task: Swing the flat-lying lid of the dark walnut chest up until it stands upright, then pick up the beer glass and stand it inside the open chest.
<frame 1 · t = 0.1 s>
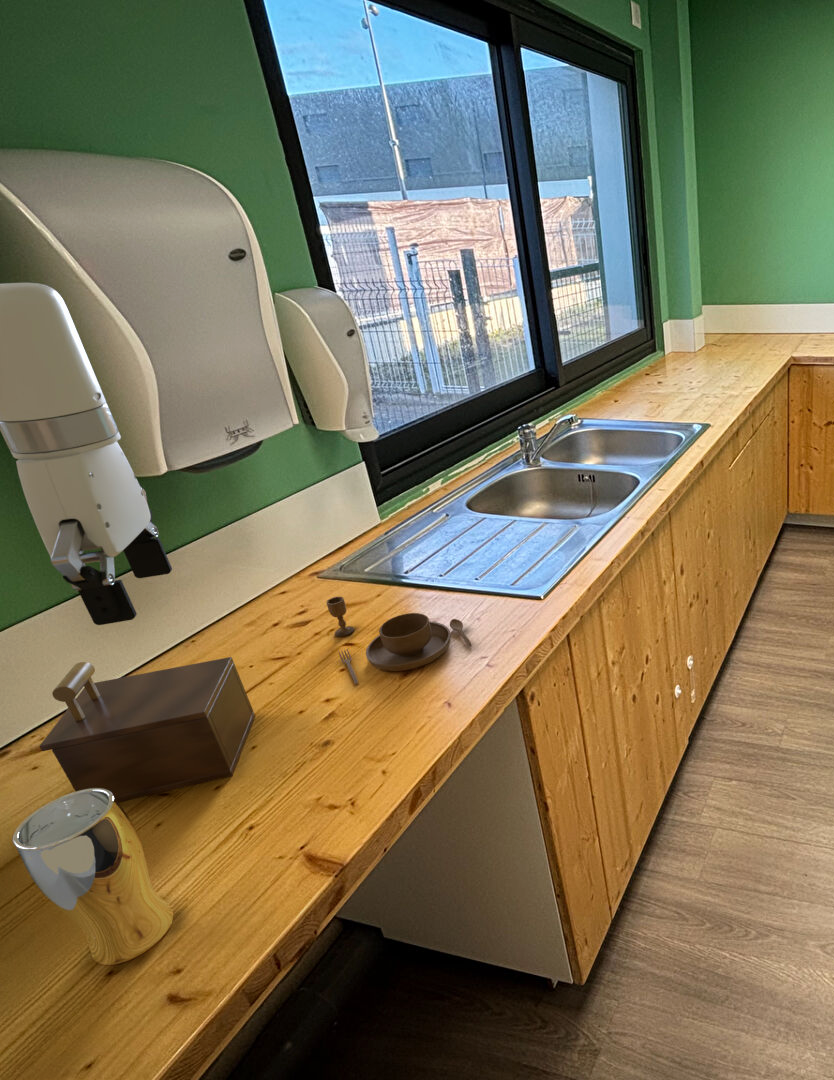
hand: (136, 596, 70), 26 cm above the countertop, tool pointing down, fingers open, 9 cm apart
beer glass: (135, 935, 65), on the countertop
chest: (177, 759, 86), on the countertop
place setting: (403, 641, 109), on the countertop
lid: (137, 683, 81), point 12 cm above the countertop, hinge at 0.0°
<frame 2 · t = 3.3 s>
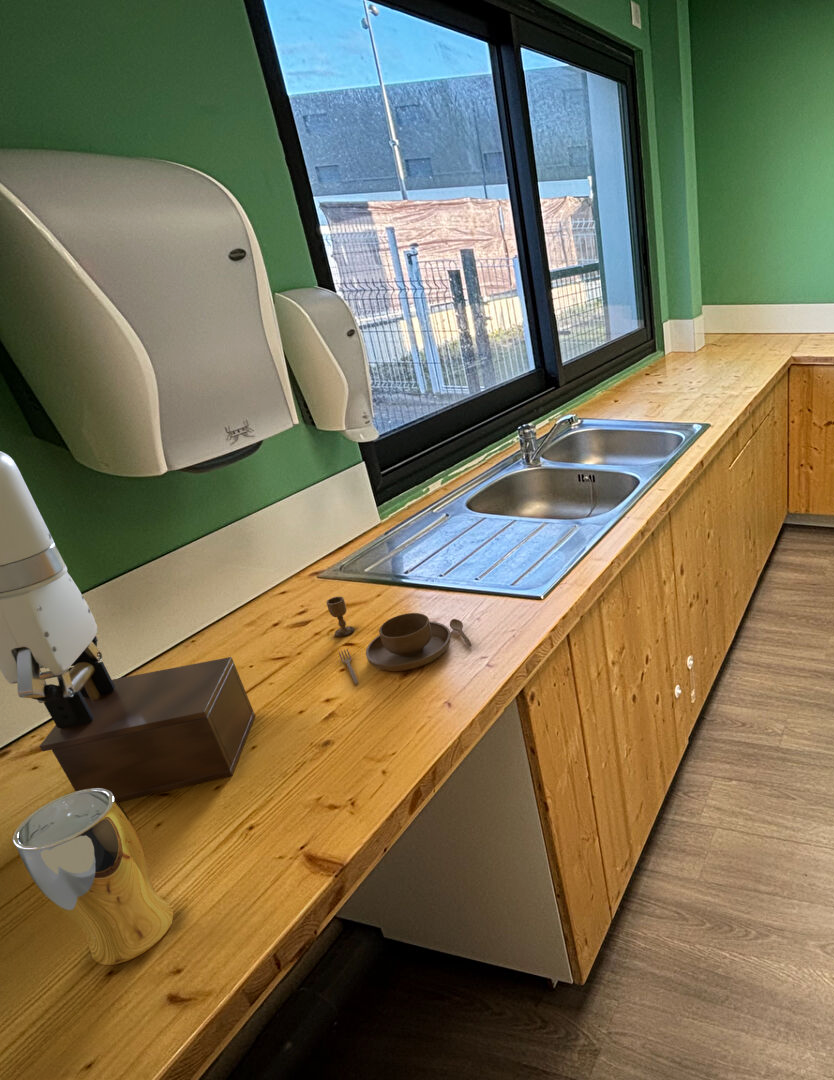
hand: (87, 707, 80), 10 cm above the countertop, tool pointing down, fingers closed on lid, 5 cm apart
lid: (137, 683, 81), point 12 cm above the countertop, hinge at -0.1°, touching gripper
everything else where it was.
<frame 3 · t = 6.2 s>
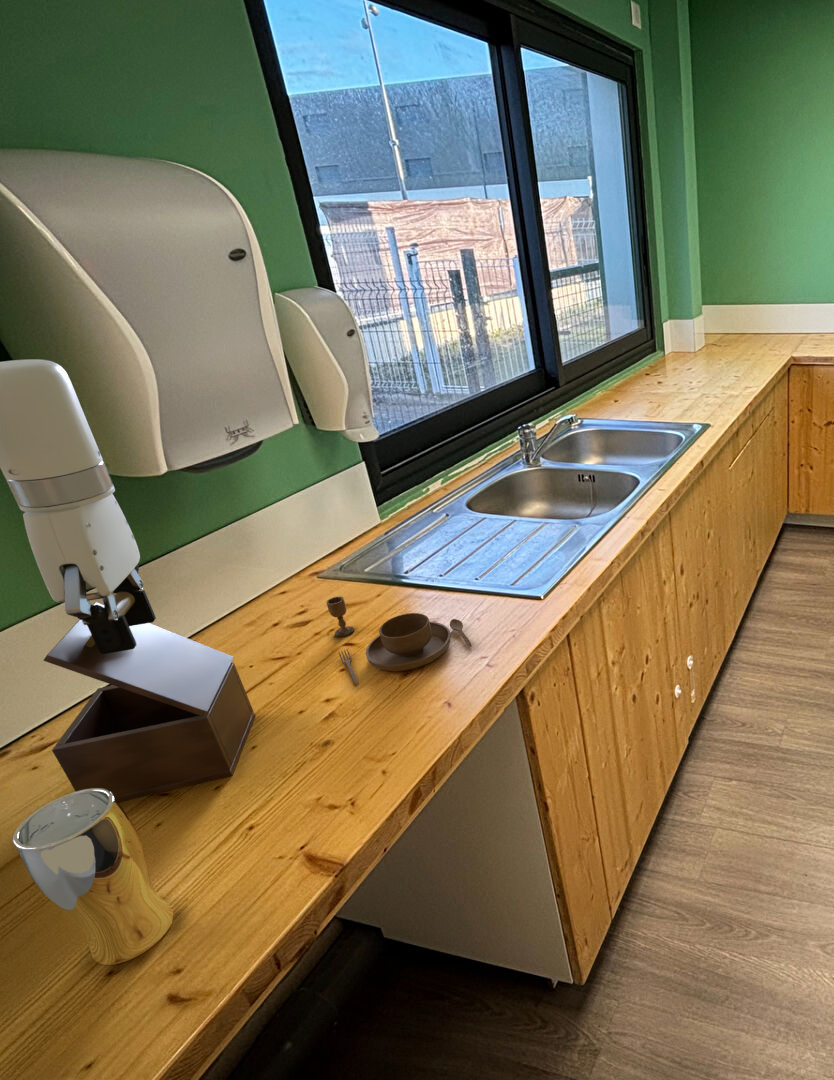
hand: (129, 635, 79), 18 cm above the countertop, tool pointing down, fingers closed on lid, 5 cm apart
lid: (160, 643, 80), point 16 cm above the countertop, hinge at 44.0°, touching gripper
everything else where it was.
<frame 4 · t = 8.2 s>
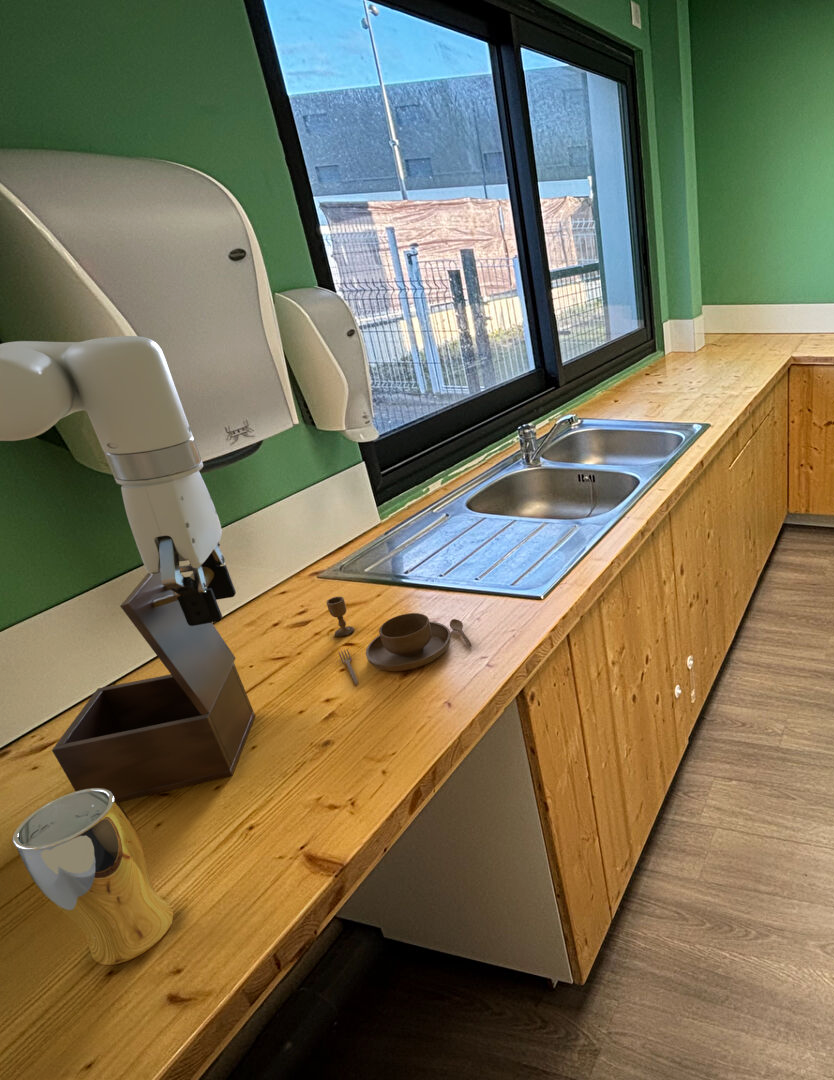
hand: (213, 608, 81), 20 cm above the countertop, tool pointing down, fingers closed on lid, 5 cm apart
lid: (206, 627, 81), point 17 cm above the countertop, hinge at 79.7°, touching gripper
everything else where it was.
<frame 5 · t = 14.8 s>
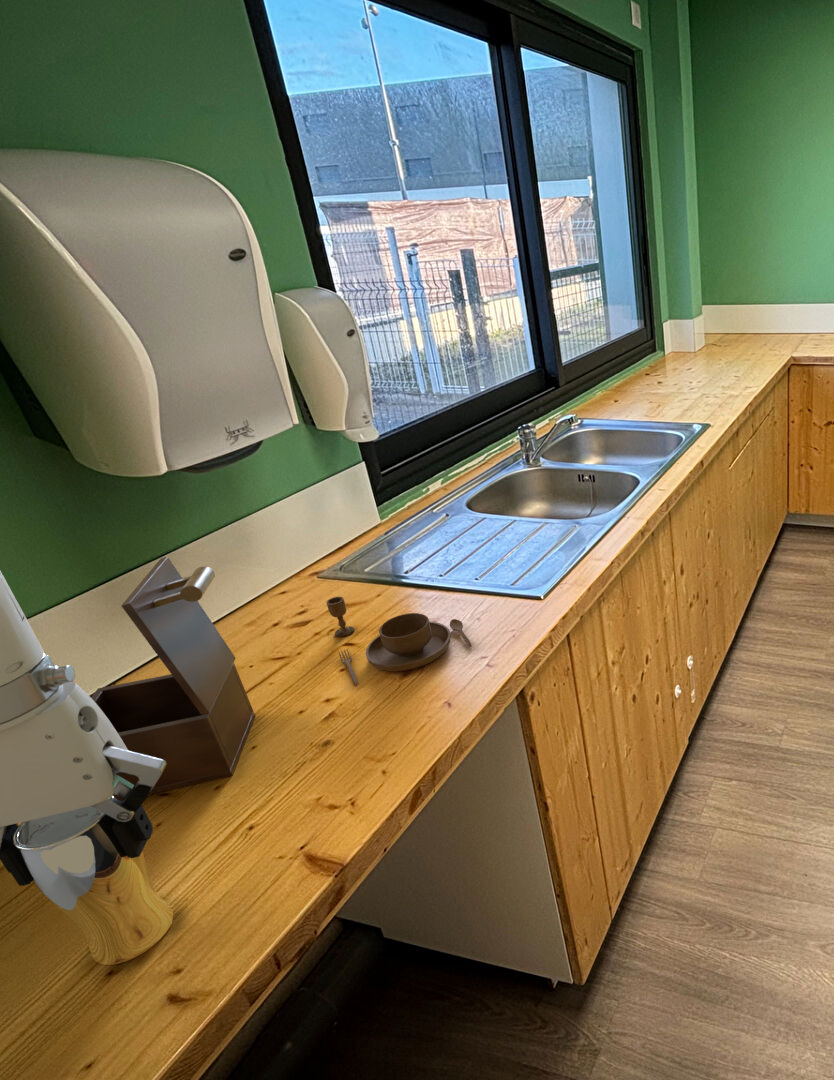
hand: (88, 857, 61), 10 cm above the countertop, tool pointing down, fingers closed on beer glass, 7 cm apart
beer glass: (135, 935, 65), on the countertop, touching gripper
lid: (206, 627, 81), point 17 cm above the countertop, hinge at 80.1°
everything else where it was.
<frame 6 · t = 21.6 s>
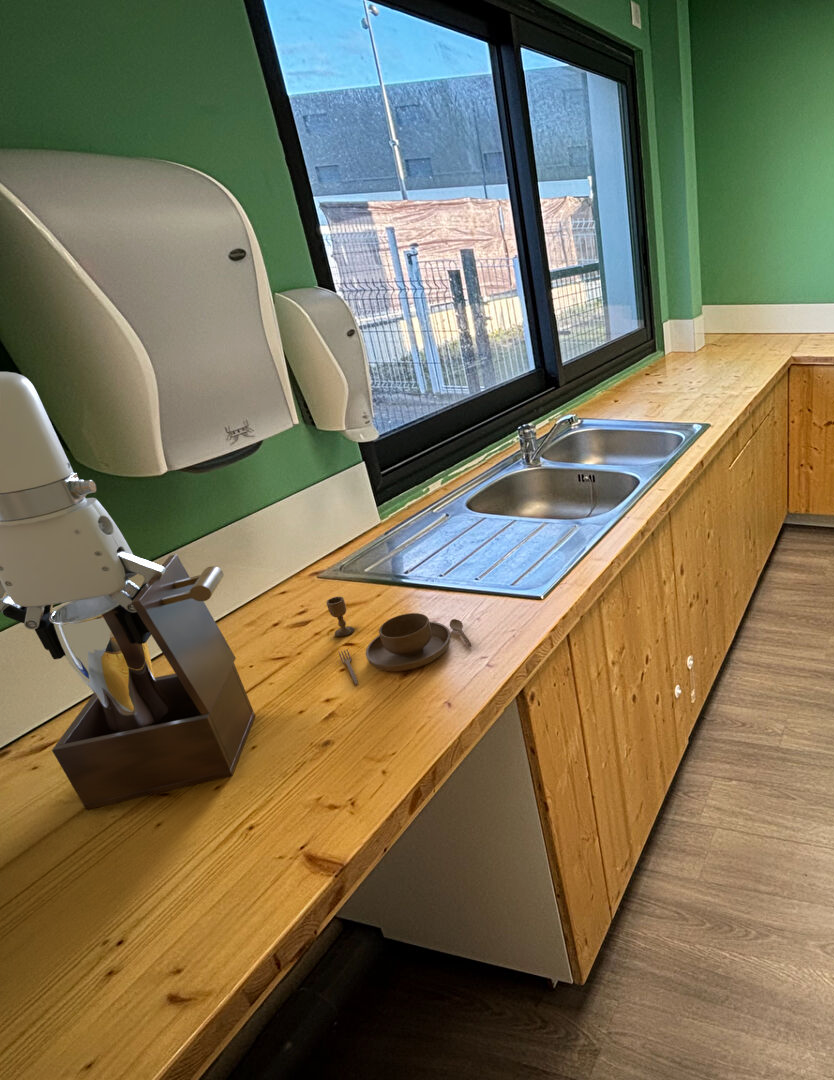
hand: (105, 643, 78), 17 cm above the countertop, tool pointing down, fingers closed on beer glass, 7 cm apart
beer glass: (141, 716, 83), point 7 cm above the countertop, touching gripper
lid: (211, 627, 81), point 17 cm above the countertop, hinge at 83.6°
everything else where it was.
when the fingers open (11 cm above the countertop, at t = 23.7 s): beer glass stays where it is, resting on chest.
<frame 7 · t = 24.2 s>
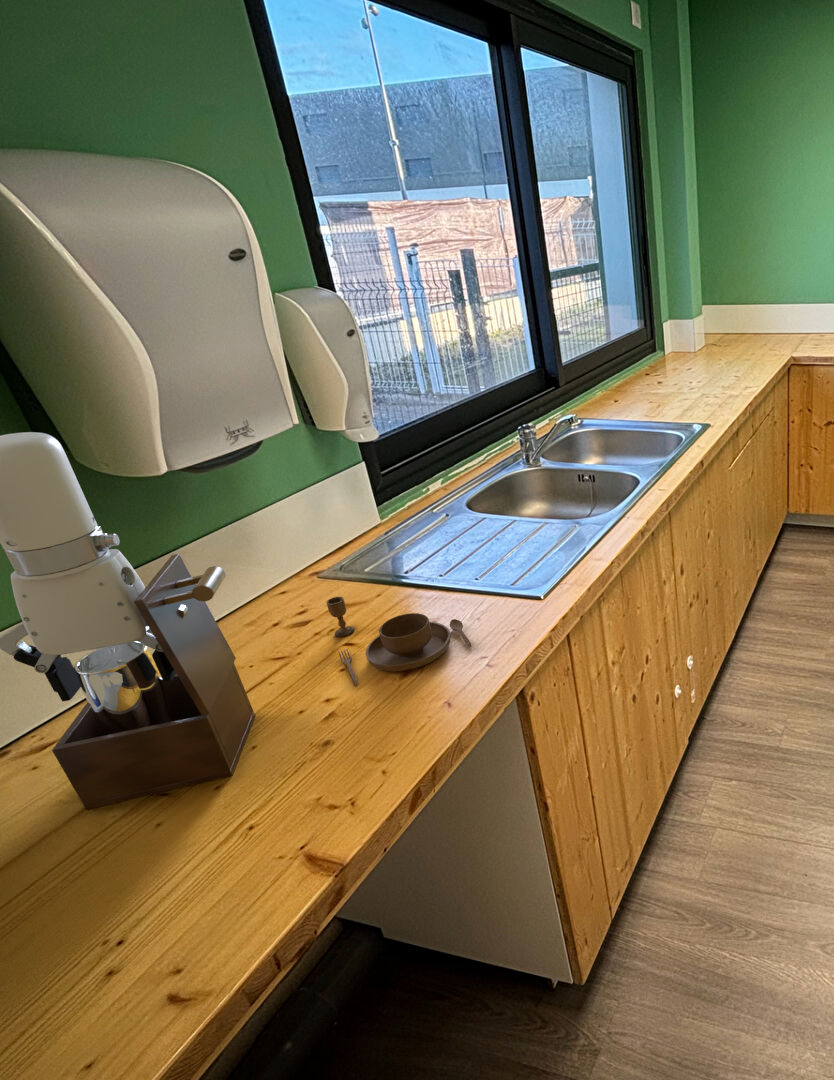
hand: (123, 684, 81), 12 cm above the countertop, tool pointing down, fingers open, 9 cm apart
beer glass: (161, 758, 86), point 1 cm above the countertop, touching chest
lid: (213, 627, 81), point 17 cm above the countertop, hinge at 84.5°
everything else where it was.
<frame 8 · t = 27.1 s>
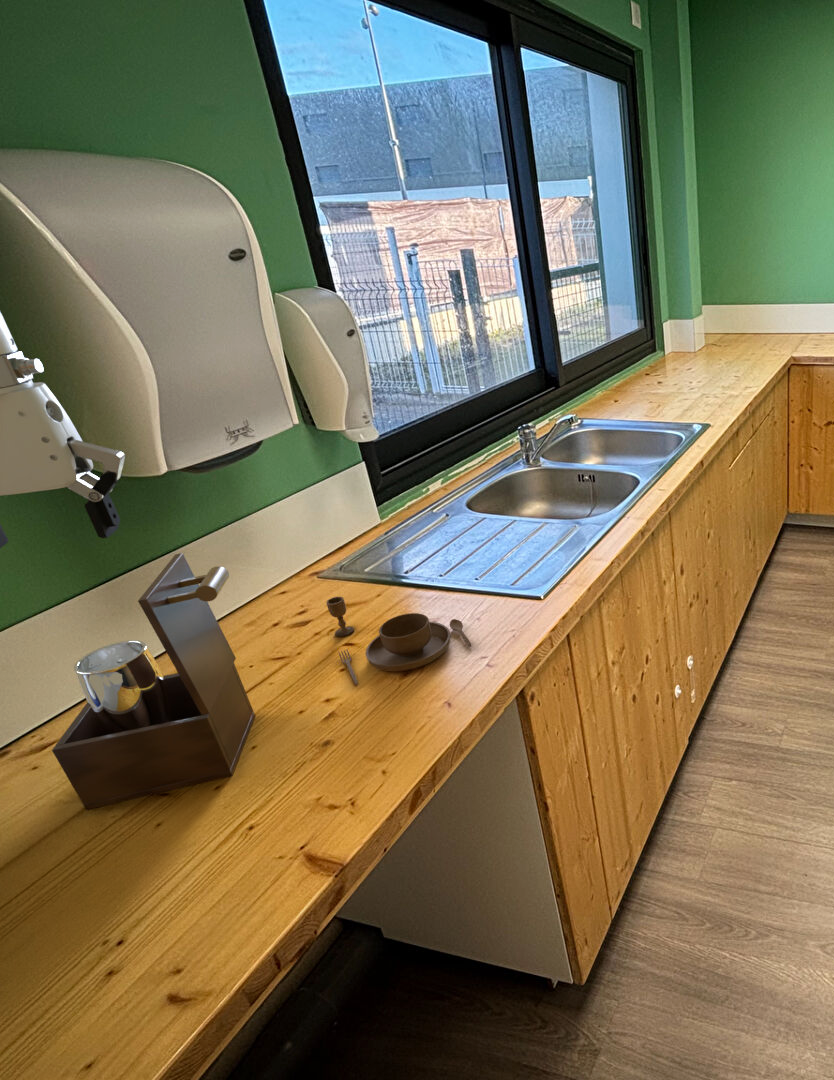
hand: (54, 540, 73), 30 cm above the countertop, tool pointing down, fingers open, 9 cm apart
lid: (215, 627, 82), point 17 cm above the countertop, hinge at 85.9°
everything else where it was.
at the end: lid at +86° (first picture: +0°); beer glass inside the target area in the chest (1.5 cm from its centre), point 0.6 cm above the chest's base; beer glass tilted 0° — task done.
